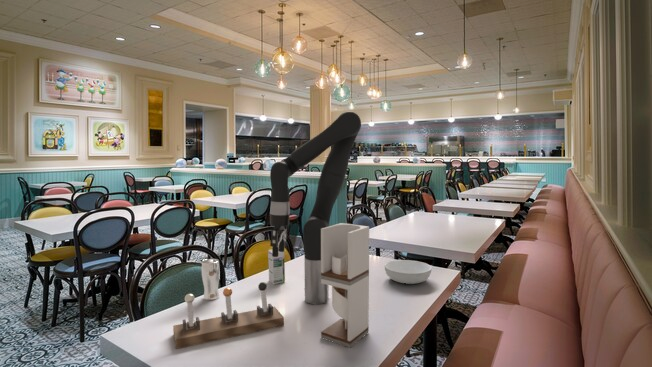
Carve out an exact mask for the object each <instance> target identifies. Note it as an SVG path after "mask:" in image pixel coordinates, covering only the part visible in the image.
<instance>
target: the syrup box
mask: <svg viewBox="0 0 652 367" xmlns="http://www.w3.org/2000/svg"><path fill="white" fill-rule="evenodd" d="M267 252H268V254H267V257H268V281H269V282H270V283H271V284H272V285H275V284H282V283H285V282H286V279H285V278H286V275H285V274H286V272H285V270H286V269H285V268H286V267H285V262H286V261H285V251H284V252H278V257H273V256H272V249H268V251H267Z"/></svg>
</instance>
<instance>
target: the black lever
mask: <svg viewBox="0 0 652 367" xmlns="http://www.w3.org/2000/svg"><path fill="white" fill-rule="evenodd" d="M257 286H258V291H260V298H261V299H260V300H261V309H262V314H267V313H269V307H268V301H267V291H266V290H267V288H268V284H267V283H266V282H265V281H262V282H260V283H259V284H258V285H257Z"/></svg>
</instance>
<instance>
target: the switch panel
mask: <svg viewBox="0 0 652 367" xmlns="http://www.w3.org/2000/svg"><path fill="white" fill-rule="evenodd" d="M267 307H269V313H267V314H262V309H261V308H262V306H260V305H256V309H253V310H248V311H242V312H239V313H238V311H237V310H236V309H235V310H232V311H233V312H232V313H233V314H234V320H231V321H226V316H225V315H226V314H225V312H224V311H223V312H221V313H220V314H221V315H220V316H218V317H217V316H216V317H213V318H206V319H201V320H200V318H199V316H196V317H195V322H196V328H190V329H187V321H186V318H185V319H182V323H180V324H174V325H172V327H173V332H172V333H173V340H174V345H175V349H176V350H177V349H183V348H187V347H193V346H197V345H202V344H206V343H210V342H214V341H215V342H216V341H220V340H225V339H229V338H235V337H238V336H244V335H248V334H253V333H256V332H257V333H258V332H262V331H267V330H272V329H276V328H281V327H285V317H284V316H283V315H282V313H281V312H280V311H279V310H278V309H277V307H275V306H273V305H272V304H271V303H267Z"/></svg>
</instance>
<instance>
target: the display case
mask: <svg viewBox="0 0 652 367" xmlns="http://www.w3.org/2000/svg"><path fill="white" fill-rule="evenodd" d="M321 283H322V284H326V285H329V286H331V306H332V309H333V311H334V313H336V314H337V316H338V317H340V319H338V320H337V321H335V322H334V323H332V324H330V325H329V326H328V327H326V328H325V329H323V330H322V331H320V335H321V336H320V338H321V339H323V338H324V339H323V340H326V339H327V340H326V341H329V340H330V341H329V342H332V341H333V343H334V342H335V344H337V343H338V345H340V344H341V346H343V347H345V348H349V349H351V348H352V347H353V346H354V345H355V344H357V343H358V342H360V340H362V339H363V338H364V337H365V336H367V335H368V334H369V333H368V332H369V326H370V324H369V322H370V320H369V317H370V315H369V310H370V307H369V306H370V304H369V303H370V226H368V225H367V226H366V225H360V224H352V223H345V222H340V223H336V224H333V225H329V227H325V228H322V229H321ZM367 333H368V334H367ZM366 334H367V335H366ZM364 335H365V336H364ZM363 336H364V337H363ZM362 337H363V338H362ZM361 338H362V339H361ZM356 342H357V343H356ZM350 347H351V348H350Z"/></svg>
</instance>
